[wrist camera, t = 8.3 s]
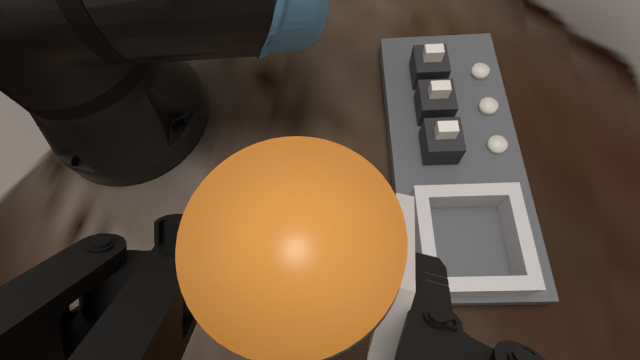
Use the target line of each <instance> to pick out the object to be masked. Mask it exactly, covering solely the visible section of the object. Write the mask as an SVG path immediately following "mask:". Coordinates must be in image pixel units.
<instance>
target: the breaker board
mask: <svg viewBox="0 0 640 360" xmlns="http://www.w3.org/2000/svg"><path fill="white" fill-rule="evenodd" d="M379 57H380V67H381V78H382V88H383V98H384V109H385V119H386V130H387V140H388V150H389V161H390V171H391V181H392V190H393V191H394V193H395V195H396V193H400V194H405V195H409V196H414V208H415V252H417V253H422V254H426V255H430V256H434V257H438V258H440V260H441V261H442V262H443V264H444V265H445V266H446V269H447V276H448V278H447V279H448V282H449V289H450V296H451V302H452V306H476V305H535V304H550V303H554V302H559V299H558V295H557V291H556V287H555V283H554V279H553V275H552V272H551V268H550V264H549V260H548V256H547V252H546V248H545V244H544V241H543V237H542V233H541V229H540V225H539V221H538V217H537V213H536V210H535V206H534V202H533V198H532V194H531V190H530V186H529V182H528V178H527V175H526V171H525V167H524V163H523V159H522V155H521V151H520V147H519V144H518V140H517V136H516V132H515V128H514V124H513V120H512V116H511V113H510V109H509V105H508V101H507V97H506V93H505V89H504V85H503V81H502V78H501V74H500V70H499V66H498V62H497V58H496V54H495V50H494V47H493V43H492V39H491V35H490V33H486V34H466V35H445V36H425V37H405V38H385V39H381V41H380V49H379Z"/></svg>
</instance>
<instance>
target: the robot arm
mask: <svg viewBox="0 0 640 360" xmlns="http://www.w3.org/2000/svg"><path fill="white" fill-rule="evenodd" d="M329 3H330V0H0V91H1V92H3V93H4V94H5V95H7V96H8V97H9V98H11V99H12V100H14V101H15V102H16V103H18V104H19V105H20V106H22V107H23V108H24V109H26V110H27V111H28V112H29V113H30V114H31V116H32V118H33V119H34V121H35V122H36V124H37V126H38V127H39V129H40V131H41V132H42V134H43V135H44V137H45V139H46V140H47V142H48V144H49V145H50V147H51V148H52V150H53V152H54V153H55V155H56V156H57V157H58V158H59V159H60V160H61V161H62V162H63V163H64V164H65V165H66V166H68V167H69V168H71V169H72V170H74V171H75V172H77V173H78V174H80V175H81V176H83V177H84V178H86V179H88V180H90V181H93V182H96V183H99V184H104V185H112V186H124V185H132V184H137V183H141V182H144V181H147V180H150V179H153V178H155V177H157V176H159V175H161V174H163V173H165V172H167V171H168V170H170V169H171V168H173V167H174V166H176V165H177V164H178V163H179V162H181V161H182V160H183V159H184V158H185V157H186V156H187V155H188V154H189V153H190V151H191V150H192V149H193V148H194V146H195V145H196V144H197V142H198V141H199V139H200V137H201V135H202V133H203V131H204V128H205V126H206V122H207V118H208V99H207V95H206V92H205V89H204V87H203V85H202V83H201V81H200V80H199V78H198V76H197V74H196V72H195V71H194V70H193V68H192V67H191V66H190V65H189V64H188V62H187V60H203V59H219V58H236V57H252V56H256V57H257V58H258V59H262V58H264V57H267V56H268V55H269V54H277V53H286V52H294V51H302V50H305V49H308V48H310V47H311V46H313V45H314V44H315V43H316V42H317V41H318V40H319V38H320V37H321V35H322V34H323V32H324V29H325V25H326V21H327V17H328V10H329ZM396 197H397V199H398V201H399V204H400V206H401V209H402V212H403V215H404V219H405V223H406V230H407V238H408V250H407V261H406V267H405V272H404V276H403V279H402V282H401V286H400V289H399V292H398V294H397V296H396V299H395V301H394V303H393V305H392V307H391V309H390V310H389V312H388V313H387V315H386V317H385V318H384V320H383V321H382V322H381V323H380V324H379V326H378V327H377V328H376V329H375V330H374V332H373V333H371V334H370V341H369V348H368V355H367V360H545V359H544V358H543V357H542V356H541V355H540V354H539V353H537V352H536V351H534V350H533V349H531V348H529V347H528V346H526V345H523V344H521V343H518V342H514V341H502V342H498V344H497V345H496V346H495V347H494V349H493V348H491V347H489V346H487V345H485V344H483V343H481V342H479V341H477V340H475V339H474V338H472V337H470V336H469V335H468V334H466V333H465V332H464V331H463V326H462V322H461V321H460V319H459V318H458V316H457V315H455V314H454V313H453V309H452V302H451V296H450V289H449V282H448V279H447V278H448V276H447V269H446V266H445V265H444V264H443V262H442V261H441V260H440V258H438V257H434V256H430V255H426V254H422V253H417V252H415V208H414V196H409V195H405V194H400V193H396ZM182 216H183V214H172V215H166V216H163V217H161V218H159V219H157V220H156V221H155V222H154V243H155V246H154V248H153V249H152V250H151V251H139V250H127V244H126V241H125V239H124V238H123V237H121V236H119V235H116V234H109V233H105V234H103V233H102V234H96V235H92V236H88V237H86V238H84V239H81V240H80V241H78V242H76V243H74V244H73V245H71V246H69V247H68V248H66V249H64V250H62V251H61V252H59V253H57V254H55V255H54V256H52V257H50V258H49V259H47V260H45V261H43V262H42V263H40V264H38V265H37V266H35V267H33V268H31V269H30V270H28V271H26V272H24V273H23V274H21V275H19V276H18V277H16V278H14V279H12V280H11V281H9V282H7V283H6V284H4V285H2V286H0V360H181V358H182V356H183V354H184V351H185V349H186V347H187V344H188V342H189V340H190V337H191V335H192V333H193V330H194V328H195V326H196V323H197V321H196V320H195V318H194V316H193V315H192V313H191V312H190V310H189V308H188V307H187V304H186V302H185V300H184V297H183V295H182V293H181V290H180V286H179V282H178V278H177V272H176V264H175V247H176V240H177V233H178V229H179V226H180V222H181V218H182ZM78 298H79V306H77V307H76V308H75V309H73V310H71V311H70V309H69V305H70V304H71V303H73V302H74V301H75V300H77V299H78Z"/></svg>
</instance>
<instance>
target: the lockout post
mask: <svg viewBox="0 0 640 360" xmlns="http://www.w3.org/2000/svg"><path fill="white" fill-rule="evenodd" d="M407 250H408V238H407V230H406V223H405V219H404V215H403V212H402V209H401V206H400V204H399V201H398V199H397V197H396V195H395V193H394V191H393V190H392V188H391V186H390V185H389V183H388V182H387V181H386V179H385V178H384V177H383V175H382V174H381V173H380V172H379V171H378V170H377V169H376V168H375V167H374V166H373V165H372V164H371V163H370V162H368V161H367V160H366V159H365V158H363V157H362V156H361V155H359V154H357V153H356V152H354V151H352V150H351V149H349V148H347V147H344V146H342V145H340V144H338V143H334V142H331V141H328V140H325V139H320V138H314V137H304V136H289V137H280V138H273V139H269V140H265V141H262V142H258V143H256V144H253V145H251V146H248V147H246V148H244V149H242V150H240V151H238V152H236V153H234V154H233V155H231V156H230V157H229V158H227V159H226V160H224V161H223V162H221V163H220V164H219V165H218V166H217V167H216V168H215V169H213V170H212V171H211V172H210V173H209V174H208V176H207V177H206V178H205V179H204V180H203V181H202V182H201V184H200V185H199V186H198V188H197V189H196V191H195V192H194V193H193V195H192V197H191V199H190V201H189V202H188V204H187V206H186V209H185V211H184V214H183V216H182V218H181V222H180V226H179V229H178V233H177V240H176V247H175V264H176V272H177V278H178V282H179V286H180V290H181V293H182V295H183V297H184V300H185V302H186V304H187V307H188V308H189V310H190V312H191V313H192V315H193V316H194V318H195V320H196V321H197V322H198V323H199V324H200V326H201V327H202V328H203V329H204V330H205V332H206V333H208V334H209V335H210V336H211V337H212V338H213V339H214V340H215V341H217V342H218V343H219V344H221V345H222V346H224V347H225V348H227V349H228V350H230V351H232V352H234V353H236V354H238V355H240V356H243V357H245V358H247V359H251V360H331V359H334V358H336V357H338V356H340V355H342V354H344V353H346V352H348V351H350V350H351V349H353V348H354V347H356V346H357V345H358V344H360V343H361V342H362V341H364V340H365V339H366V338H367V337H368V336H369V335H370V334H371V333H373V332H374V330H375V329H376V328H377V327H378V326H379V324H380V323H381V322H382V321H383V320H384V318H385V317H386V315H387V313H388V312H389V310H390V309H391V307H392V305H393V303H394V301H395V299H396V296H397V294H398V292H399V289H400V286H401V282H402V279H403V276H404V272H405V267H406V261H407Z"/></svg>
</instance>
